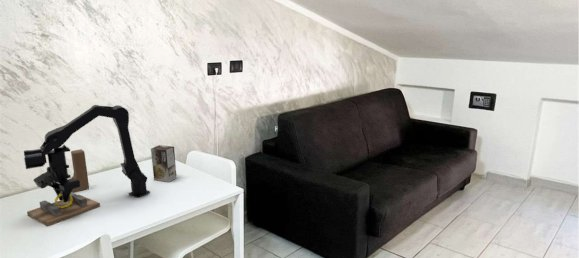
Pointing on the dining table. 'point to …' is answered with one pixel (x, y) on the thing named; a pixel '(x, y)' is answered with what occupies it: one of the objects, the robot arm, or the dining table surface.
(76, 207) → the cradle
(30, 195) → the dining table surface
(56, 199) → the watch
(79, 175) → the wooden block
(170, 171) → the coffee box
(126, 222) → the dining table surface
